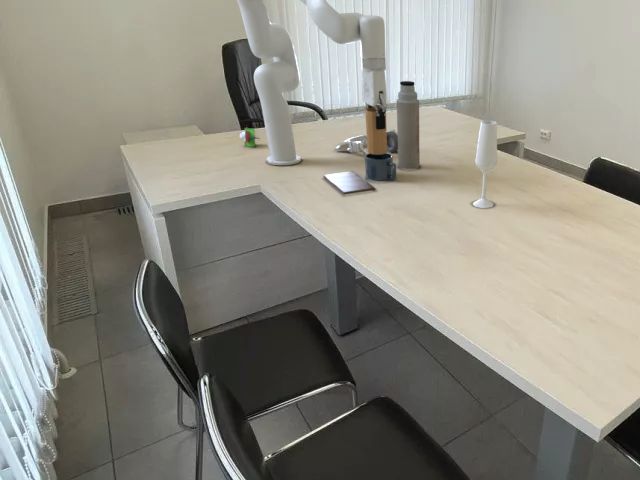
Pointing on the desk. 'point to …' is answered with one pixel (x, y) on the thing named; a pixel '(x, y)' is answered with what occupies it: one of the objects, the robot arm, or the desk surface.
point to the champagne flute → (486, 156)
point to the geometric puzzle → (248, 137)
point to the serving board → (348, 182)
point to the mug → (380, 167)
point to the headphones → (359, 141)
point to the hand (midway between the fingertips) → (376, 126)
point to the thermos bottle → (408, 126)
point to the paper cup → (375, 134)
